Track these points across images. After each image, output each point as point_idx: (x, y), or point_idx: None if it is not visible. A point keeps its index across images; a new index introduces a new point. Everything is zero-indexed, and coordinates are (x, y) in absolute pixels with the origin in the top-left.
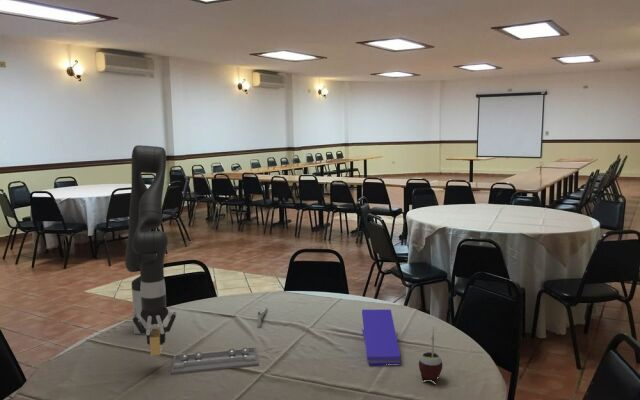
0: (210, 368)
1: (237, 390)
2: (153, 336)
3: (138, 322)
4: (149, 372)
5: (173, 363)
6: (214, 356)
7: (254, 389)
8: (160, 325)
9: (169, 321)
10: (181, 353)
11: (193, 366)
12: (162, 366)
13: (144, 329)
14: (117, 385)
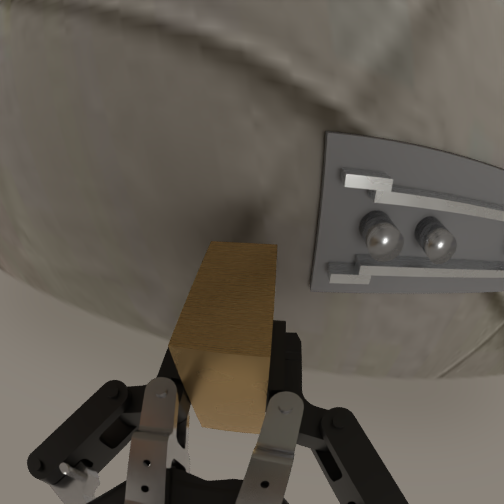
0: (440, 292)
1: (438, 369)
2: (222, 425)
3: (97, 473)
4: None
5: (325, 221)
6: None
7: (462, 367)
8: (265, 485)
9: (341, 495)
10: (374, 177)
11: None
12: (273, 208)
13: (137, 422)
14: (142, 300)
